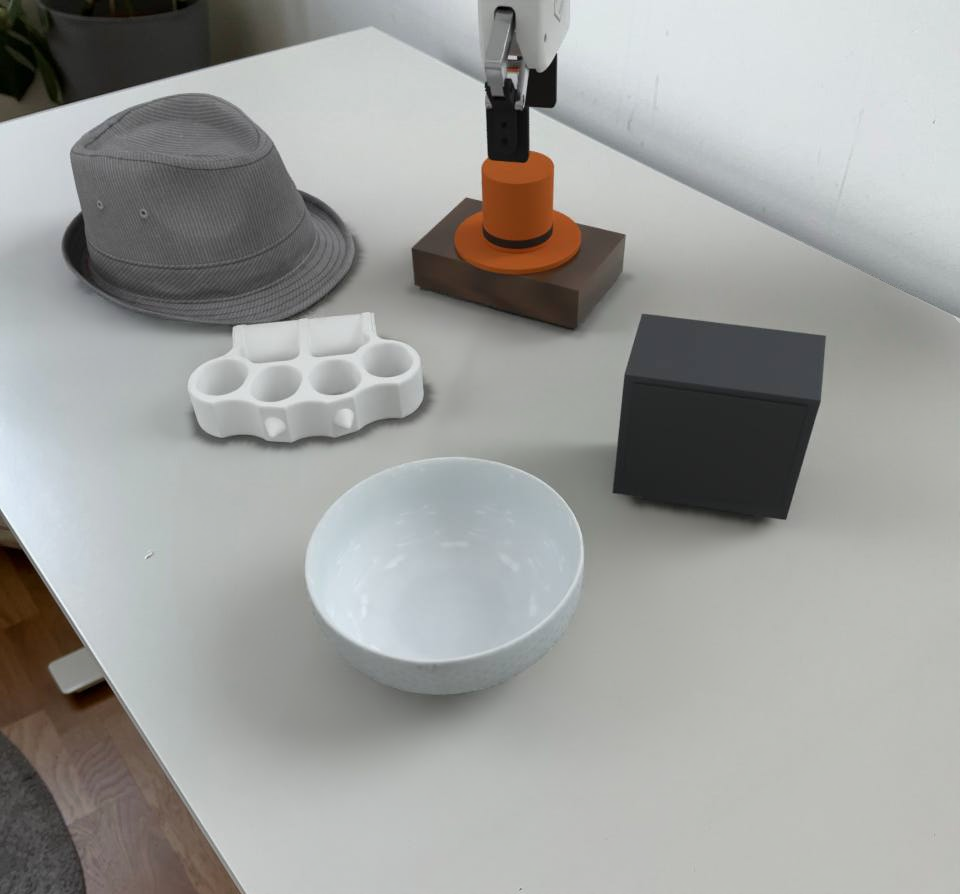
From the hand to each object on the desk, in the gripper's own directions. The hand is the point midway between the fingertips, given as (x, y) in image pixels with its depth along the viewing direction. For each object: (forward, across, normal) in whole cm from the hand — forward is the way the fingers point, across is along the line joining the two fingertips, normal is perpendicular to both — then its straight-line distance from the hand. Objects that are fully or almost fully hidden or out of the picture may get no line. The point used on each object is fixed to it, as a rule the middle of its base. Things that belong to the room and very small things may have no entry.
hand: (523, 131), depth 79 cm
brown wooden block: (+13, 0, +1) cm, 13 cm away
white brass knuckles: (+13, -20, +13) cm, 27 cm away
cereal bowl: (+13, -40, -5) cm, 43 cm away
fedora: (+13, -2, +30) cm, 33 cm away
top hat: (+9, 0, +1) cm, 9 cm away
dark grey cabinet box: (+13, -24, -19) cm, 33 cm away
